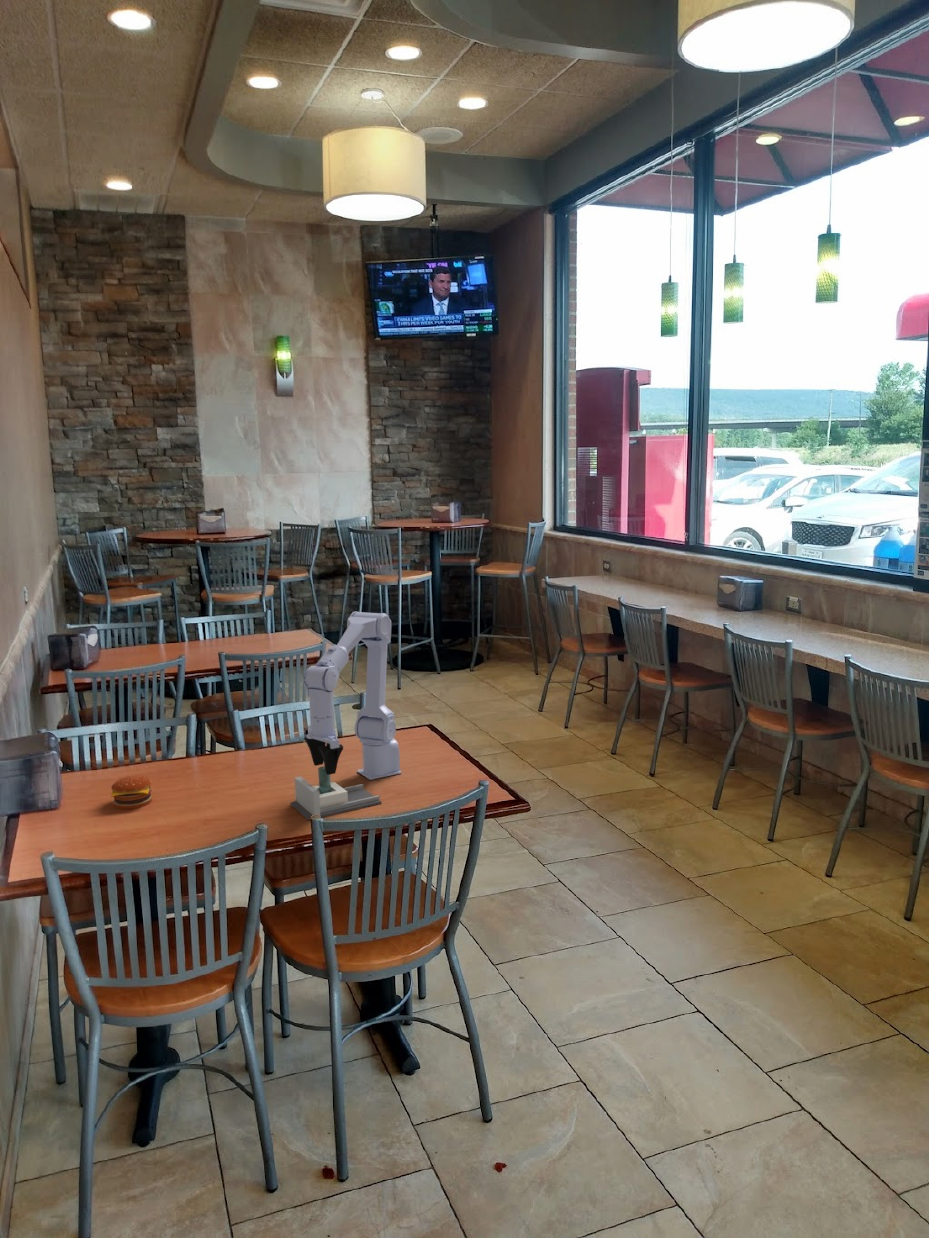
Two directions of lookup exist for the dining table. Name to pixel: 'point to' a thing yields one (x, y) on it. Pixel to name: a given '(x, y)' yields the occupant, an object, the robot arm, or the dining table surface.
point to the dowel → (324, 781)
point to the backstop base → (310, 806)
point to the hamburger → (131, 792)
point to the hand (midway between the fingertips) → (324, 769)
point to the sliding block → (333, 796)
